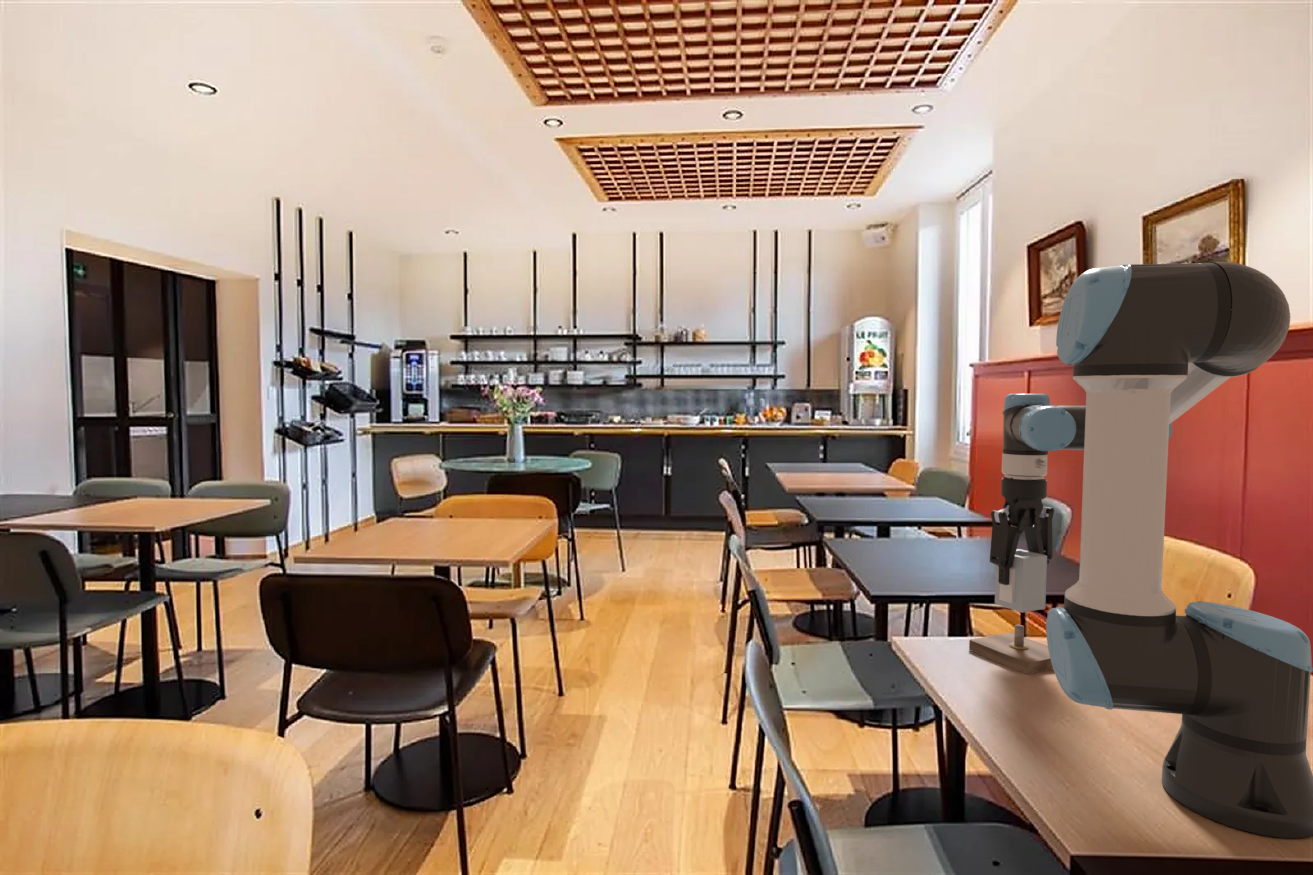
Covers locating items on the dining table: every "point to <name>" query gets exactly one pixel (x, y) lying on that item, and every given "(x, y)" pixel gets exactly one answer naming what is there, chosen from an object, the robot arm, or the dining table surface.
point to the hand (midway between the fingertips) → (1020, 599)
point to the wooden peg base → (1014, 651)
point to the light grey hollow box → (1026, 582)
